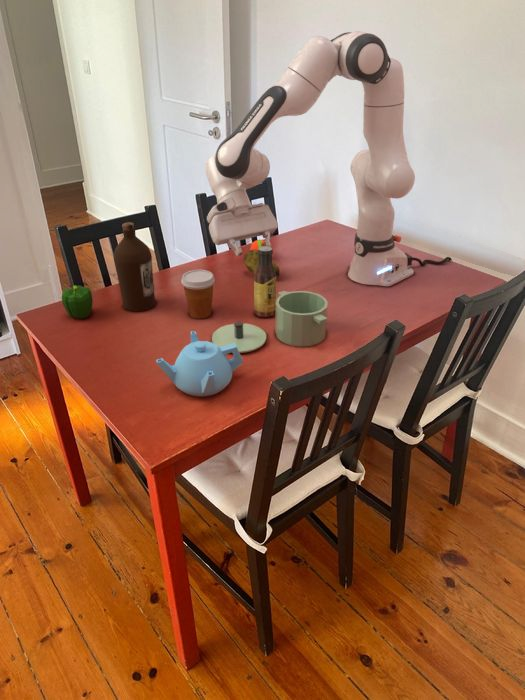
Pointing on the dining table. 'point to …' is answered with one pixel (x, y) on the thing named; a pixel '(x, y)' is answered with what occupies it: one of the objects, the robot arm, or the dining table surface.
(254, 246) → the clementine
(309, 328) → the pot
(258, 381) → the dining table surface
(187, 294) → the disposable coffee cup
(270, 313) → the sauce bottle
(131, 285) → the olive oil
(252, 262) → the potato
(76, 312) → the bell pepper
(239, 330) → the lid
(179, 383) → the teapot
